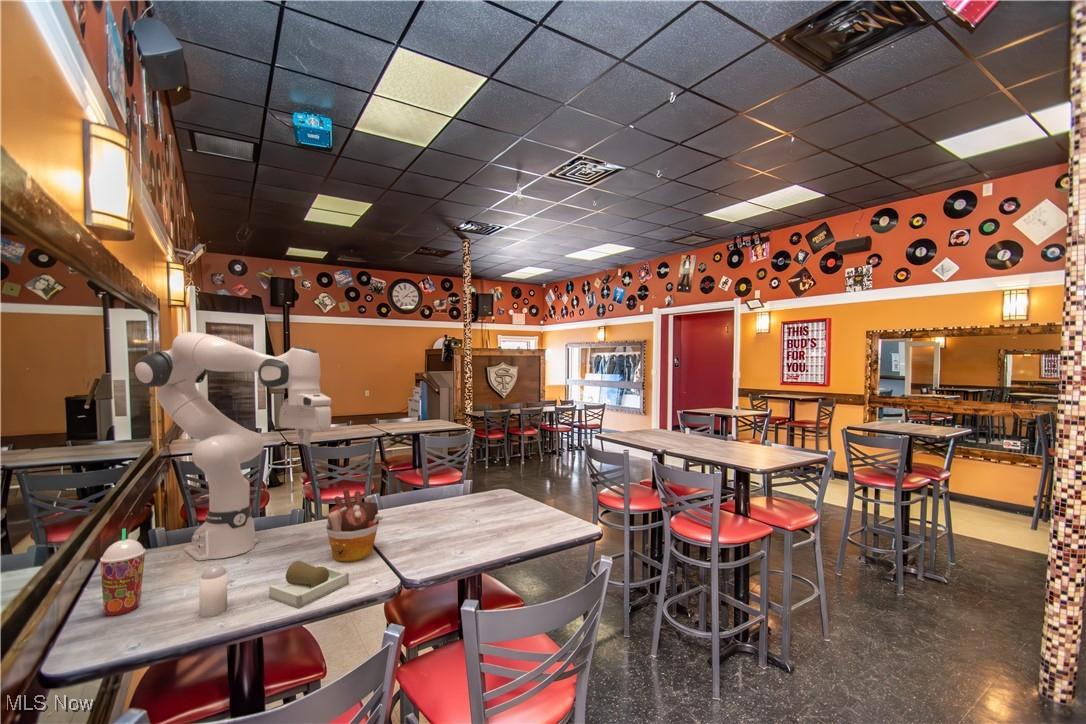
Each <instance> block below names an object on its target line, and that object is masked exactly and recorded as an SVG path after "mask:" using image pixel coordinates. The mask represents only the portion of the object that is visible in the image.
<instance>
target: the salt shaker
mask: <svg viewBox="0 0 1086 724" xmlns="http://www.w3.org/2000/svg"><path fill="white" fill-rule="evenodd" d="M228 573H229V572H228V570H226V568H225V566H223V565H221V564H220V565H219V564H213V565H211V566H209V567H207V568H206V569H204V571H203V572H202V574H201V575H200V577H199V605H198V606H199V607H198V608H199V609H198V610H199V611H198V612H199V613H198V616H199V618H204V619H205V618H207V619H208V618H211V617H213V618H214V617H216V616H219V615H221V614H223V613H224V612H226V611H227V610H228V585H229V583H228V582H229V581H228V580H229V579H228Z"/></svg>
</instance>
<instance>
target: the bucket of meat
mask: <svg viewBox="0 0 1086 724" xmlns="http://www.w3.org/2000/svg"><path fill="white" fill-rule="evenodd" d="M342 493H343V498H344V503H345V506H344V503H343V501H342V498H341V496H335V497H334V499H333V501H334V503H335V505H333V506H332V507H331V508H330V509H329V512H328V513H327V514H326V518H327V519H326V520H327V523H326V533H327V537H328V541H329V544H330V545H329V546H330V549H331V553H332V558H333V559H335V561H337V562H341V563H352V562H353V563H354V562H357V561H361V560H364V559H365V558H367V556H368V557H369V556H370V555H371V554H372V553H373V549H374V544H375V541H376V536H377V532H378V528H379V522H380V521H382V520H383V519H384V517H383V515H381V514H379V509H378V507H379V506H378V503H377V502H372V500H373V496H372V495H367V496H366V497H365V498H364V501H363V502H362V492H361V491H360V490H356V491H355V492H354V504H355V505H353V504H352V500H351V499H352V498H351V495H350V489H349V488H347V487H345V488H343V491H342Z"/></svg>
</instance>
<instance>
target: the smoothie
mask: <svg viewBox="0 0 1086 724" xmlns="http://www.w3.org/2000/svg"><path fill="white" fill-rule="evenodd" d="M126 530H127V529H126V528H122V529H121V532H122V534H121V539H120V540H118V541H115V542H113V543H112V544H111V545H109V546H108V547H107V549H106V550H105V551H104V553H103V555H102V556H101V557H100V558H99V559H100V575H101V576H100V577H101V588H102V589H101V591H102V606H103V608H102V609H103V611H105V613H106V615H107V616H111V617H112V616H119V615H120V616H121V615H122V614H123V615H124V614H127V613H130V612H131V611H134V610H135V609H136V608H137V607H139V606H138V605H139V603H140V602H141V597H142V590H143V589H142V587H143V579H144V578H143V577H144V567H145V557H146V548H144V546H143V545H142V543H140V541H137V540H136V539H130V538H126Z"/></svg>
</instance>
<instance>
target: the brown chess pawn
mask: <svg viewBox="0 0 1086 724" xmlns="http://www.w3.org/2000/svg"><path fill="white" fill-rule="evenodd" d="M325 567H326V566H325ZM325 567H317V566H314V565H311V564H309V563H306V562H303V561H300V560H296V561H293V562H292V563H291V564H290V565H289V566H288V568H287V570H286V573H285V581H286V582H287V584H290V585H293V584H310V585H311V586H313V587H316V586H318V585H320V584H322V583H324V582H327V581H328V579H329V571H328V569H327V568H325Z"/></svg>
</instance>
